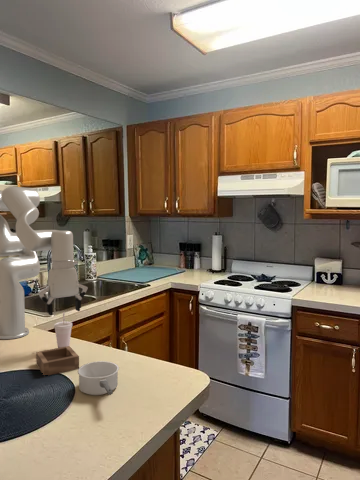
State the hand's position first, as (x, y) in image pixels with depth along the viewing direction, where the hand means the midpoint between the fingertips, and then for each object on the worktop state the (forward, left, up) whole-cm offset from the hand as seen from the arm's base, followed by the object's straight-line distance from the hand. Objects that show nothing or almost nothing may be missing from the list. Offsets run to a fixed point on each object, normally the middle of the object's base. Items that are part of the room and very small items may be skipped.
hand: (64, 312), depth 130 cm
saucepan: (+38, 0, -14) cm, 40 cm away
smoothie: (-1, 0, -14) cm, 14 cm away
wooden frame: (+12, -6, -14) cm, 20 cm away
